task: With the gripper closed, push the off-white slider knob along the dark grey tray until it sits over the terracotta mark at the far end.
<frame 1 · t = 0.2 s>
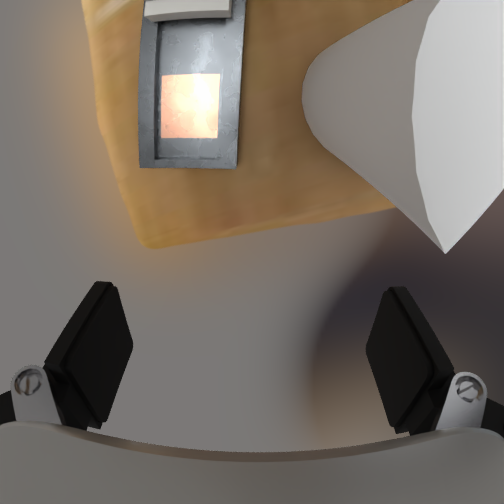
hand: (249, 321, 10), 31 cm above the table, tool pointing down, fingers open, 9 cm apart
dark grey tray: (193, 64, 32), on the table
cylinder: (366, 101, 34), on the table
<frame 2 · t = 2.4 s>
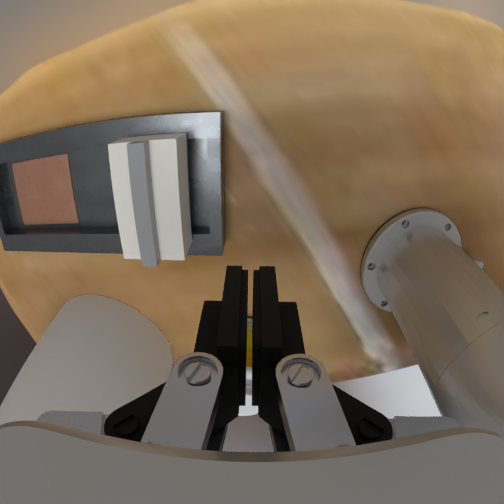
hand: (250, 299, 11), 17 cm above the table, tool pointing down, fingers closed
supplement bottle: (245, 332, 35), on the table
slider knob: (153, 195, 22), point 5 cm above the table, slide at 0.0 cm
dark grey tray: (92, 183, 26), on the table
cylinder: (112, 344, 37), on the table
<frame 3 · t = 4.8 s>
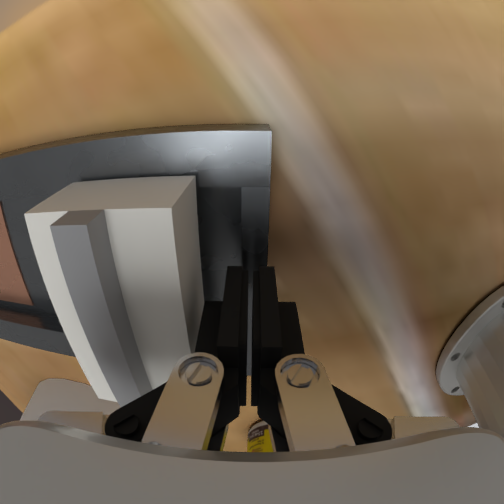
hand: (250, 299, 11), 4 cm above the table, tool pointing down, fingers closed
supplement bottle: (278, 427, 24), on the table
slider knob: (134, 303, 11), point 5 cm above the table, slide at 0.1 cm, touching gripper
dark grey tray: (45, 245, 15), on the table
cylinder: (105, 427, 26), on the table
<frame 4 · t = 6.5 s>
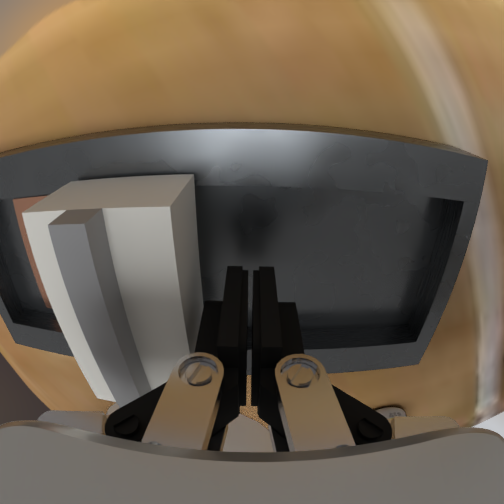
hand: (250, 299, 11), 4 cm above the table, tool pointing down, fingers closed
slider knob: (133, 302, 11), point 5 cm above the table, slide at 9.5 cm, touching gripper
dark grey tray: (191, 246, 15), on the table
cylinder: (188, 441, 26), on the table
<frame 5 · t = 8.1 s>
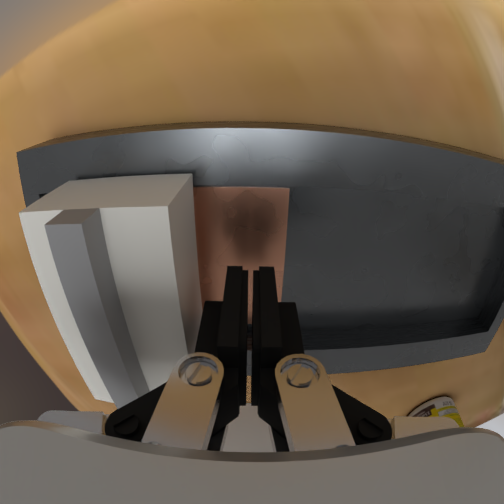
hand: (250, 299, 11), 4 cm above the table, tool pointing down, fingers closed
supplement bottle: (427, 409, 24), on the table
slider knob: (131, 302, 11), point 5 cm above the table, slide at 15.5 cm, touching gripper
dark grey tray: (311, 248, 15), on the table
cylinder: (247, 445, 26), on the table
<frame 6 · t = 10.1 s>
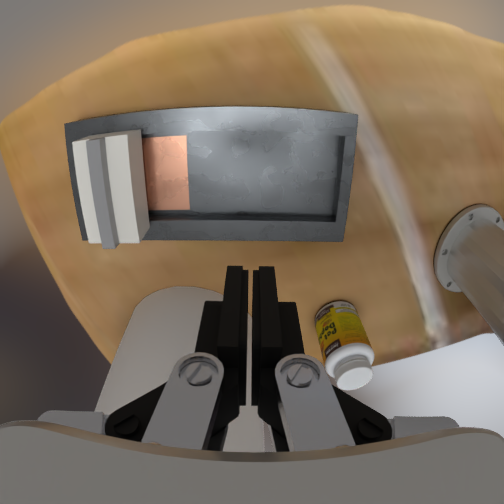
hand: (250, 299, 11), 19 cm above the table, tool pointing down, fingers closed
supplement bottle: (334, 315, 37), on the table
slider knob: (113, 186, 24), point 5 cm above the table, slide at 15.6 cm
dark grey tray: (206, 168, 28), on the table
cylinder: (193, 338, 39), on the table
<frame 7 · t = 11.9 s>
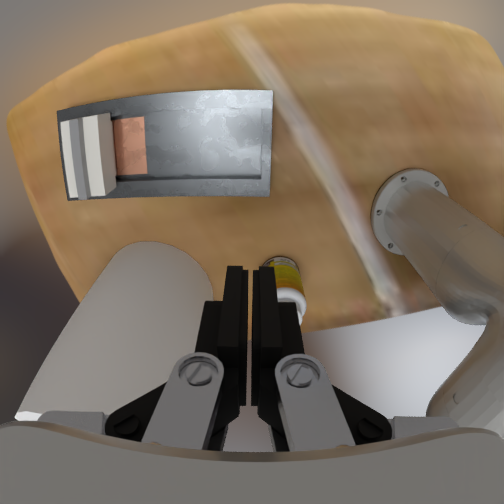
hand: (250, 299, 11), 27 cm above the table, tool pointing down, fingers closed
supplement bottle: (278, 271, 43), on the table
slider knob: (89, 154, 30), point 5 cm above the table, slide at 15.6 cm
dark grey tray: (161, 142, 34), on the table
cylinder: (157, 291, 45), on the table
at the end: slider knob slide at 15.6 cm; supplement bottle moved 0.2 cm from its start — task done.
